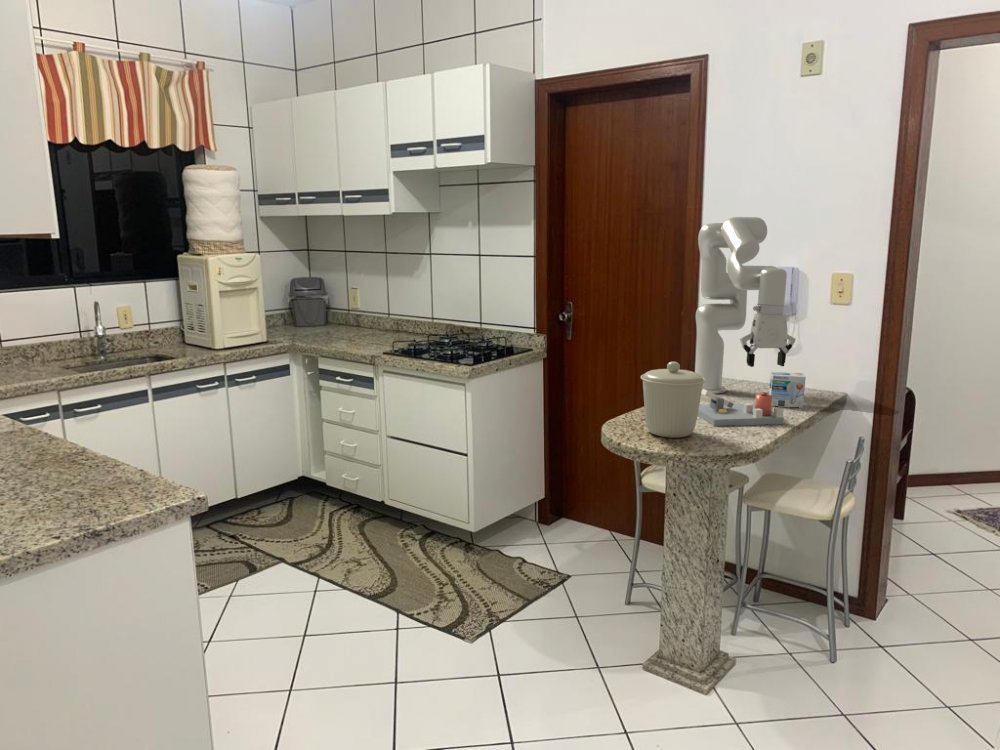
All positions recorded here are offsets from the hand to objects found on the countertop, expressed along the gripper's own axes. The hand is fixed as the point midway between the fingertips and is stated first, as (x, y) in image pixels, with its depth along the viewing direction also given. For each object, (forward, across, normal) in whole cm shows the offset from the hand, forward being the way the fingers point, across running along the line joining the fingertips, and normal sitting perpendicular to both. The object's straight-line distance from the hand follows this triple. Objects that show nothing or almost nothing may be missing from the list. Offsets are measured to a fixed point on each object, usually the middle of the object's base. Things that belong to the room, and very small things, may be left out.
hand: (765, 365), depth 234 cm
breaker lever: (+12, -12, +7) cm, 18 cm away
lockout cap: (+15, 0, -1) cm, 15 cm away
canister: (+17, -34, -12) cm, 39 cm away
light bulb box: (+18, +18, +18) cm, 31 cm away
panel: (+17, -6, +4) cm, 19 cm away
